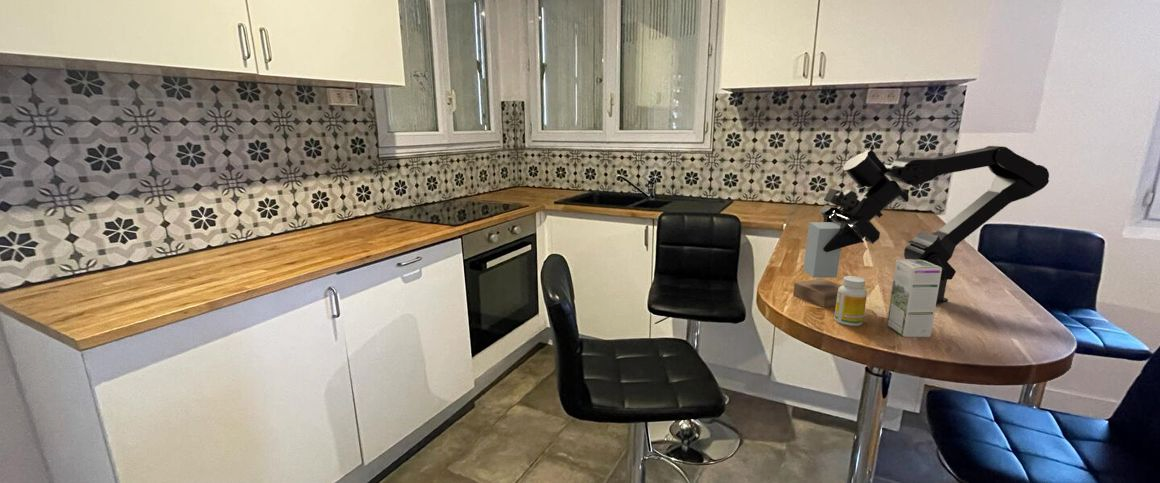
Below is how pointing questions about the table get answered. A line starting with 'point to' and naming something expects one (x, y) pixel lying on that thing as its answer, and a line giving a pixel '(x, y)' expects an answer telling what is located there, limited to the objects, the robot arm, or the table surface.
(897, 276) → the syrup box
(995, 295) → the table surface
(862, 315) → the supplement bottle
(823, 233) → the slate pillar
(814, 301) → the walnut block
